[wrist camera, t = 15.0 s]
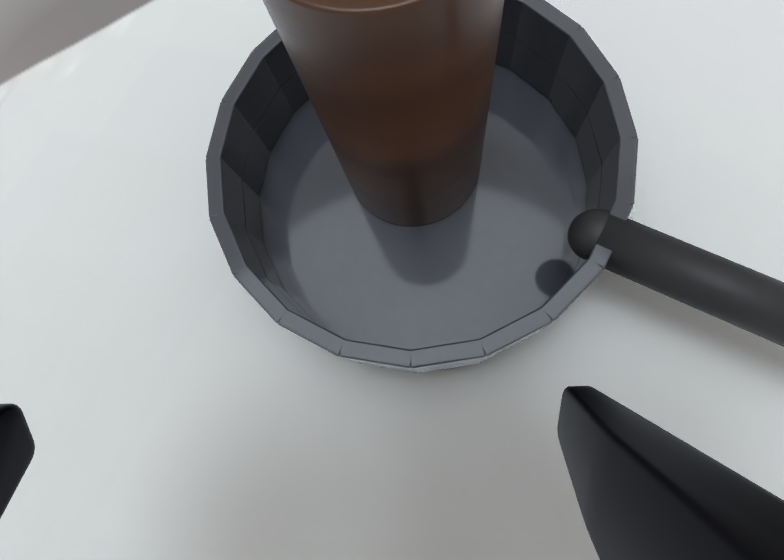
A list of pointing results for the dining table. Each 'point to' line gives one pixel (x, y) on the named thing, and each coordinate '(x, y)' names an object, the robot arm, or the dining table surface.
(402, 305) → the pan
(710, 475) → the robot arm
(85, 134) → the dining table surface
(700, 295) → the pan handle
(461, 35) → the pepper mill
